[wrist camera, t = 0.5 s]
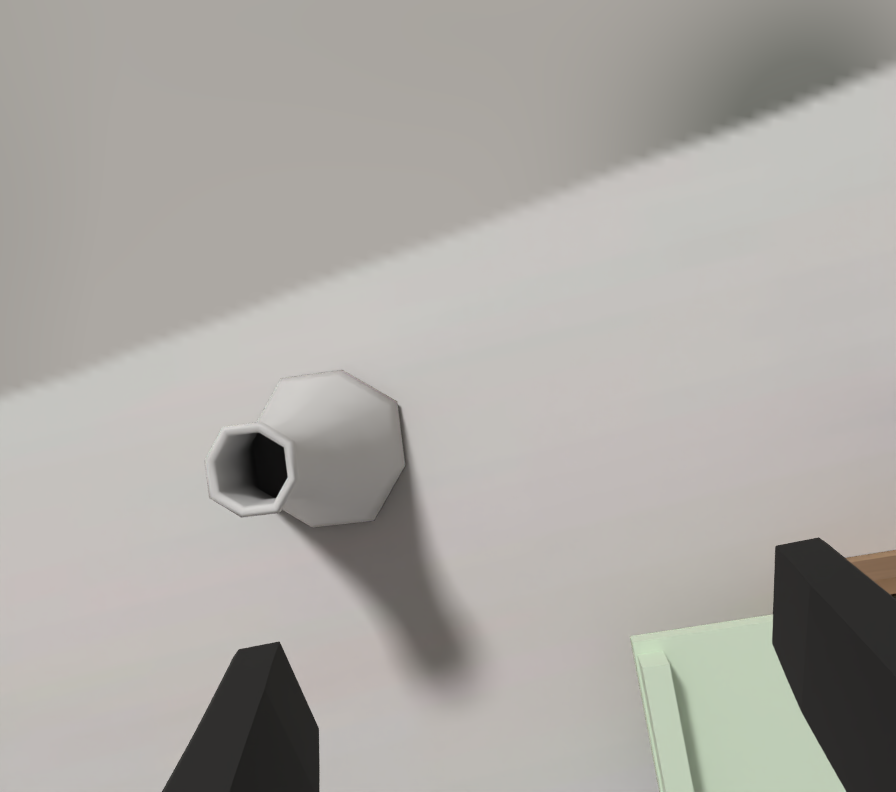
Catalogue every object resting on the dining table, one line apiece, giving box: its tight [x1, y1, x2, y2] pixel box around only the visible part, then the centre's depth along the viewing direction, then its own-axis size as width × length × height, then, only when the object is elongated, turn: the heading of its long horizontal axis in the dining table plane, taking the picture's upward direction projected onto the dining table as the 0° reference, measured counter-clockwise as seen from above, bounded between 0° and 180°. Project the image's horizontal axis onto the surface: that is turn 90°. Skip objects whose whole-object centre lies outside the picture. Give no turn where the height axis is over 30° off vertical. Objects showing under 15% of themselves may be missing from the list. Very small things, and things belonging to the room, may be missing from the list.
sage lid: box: [630, 596, 896, 792], centre depth 30 cm, size 9×15×2 cm, turn 101°
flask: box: [205, 370, 405, 528], centre depth 31 cm, size 7×7×10 cm
